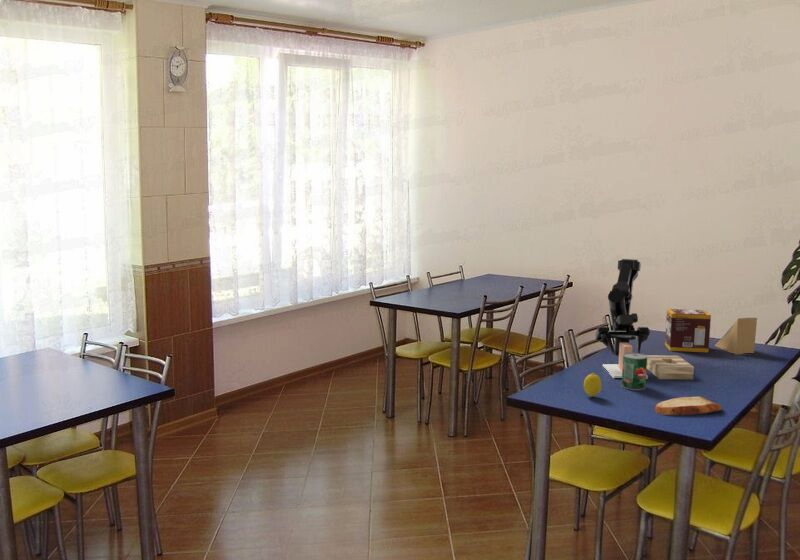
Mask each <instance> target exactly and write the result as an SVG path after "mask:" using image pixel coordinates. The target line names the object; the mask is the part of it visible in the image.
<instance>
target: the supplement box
mask: <svg viewBox="0 0 800 560" xmlns="http://www.w3.org/2000/svg"><path fill="white" fill-rule="evenodd" d="M711 317H712V315H711V314H710V313H708V312H707V311H706V310H704V309H677V308H667V309H666V320H665V336H664V337H665V340H664V346H665V347H666V348H667V349H668V351H671V352H689V353H693V352H694V353H709V349H710V348H709V347H710V334H711V333H710V332H711V321H712V320H711V319H712V318H711Z"/></svg>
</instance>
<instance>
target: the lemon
mask: <svg viewBox="0 0 800 560" xmlns="http://www.w3.org/2000/svg"><path fill="white" fill-rule="evenodd" d="M583 390H584V392H585V393H586V395H588V396H590V397H591V398H594V397H595V396H597V395H598V394H599V393H600V392H601V390H602V381H601V378H600V376H599V375H597V374H595V373H594V372H591V373H590V374H588V375H587V376H586V377H585V378H584V381H583Z"/></svg>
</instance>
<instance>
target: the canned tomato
mask: <svg viewBox="0 0 800 560" xmlns="http://www.w3.org/2000/svg"><path fill="white" fill-rule="evenodd" d="M647 370H648V369H647V356H646V354H644V353H637V352H632V353H625V354H623V369H622V379H621V387H622V388H623V387H624V388H623V389H625V388H626V390H629V389H630V391H643V390H646V385H647V384H646V383H647V379H646V375H647ZM642 389H643V390H642Z"/></svg>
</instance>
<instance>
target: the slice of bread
mask: <svg viewBox="0 0 800 560" xmlns="http://www.w3.org/2000/svg"><path fill="white" fill-rule="evenodd" d="M722 409H723V408H722V405H721V404H719V403H717V402H716V403H715V402H712V401H711V400H709V399H707V398H705V397H703V396H681V397H676V398H675V397H674V398H671V399H667V400H663V401H660V402H658V403H657V404H656V405H655V407H654V412H655V413H656V414H658V415H661V414H663V415H664V416H685V415H686V416H687V415H688V416H690V415H691V416H693V415H694V414H695V415H706V414H711V413H718V412H720V411H722ZM663 415H662V416H663Z"/></svg>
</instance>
